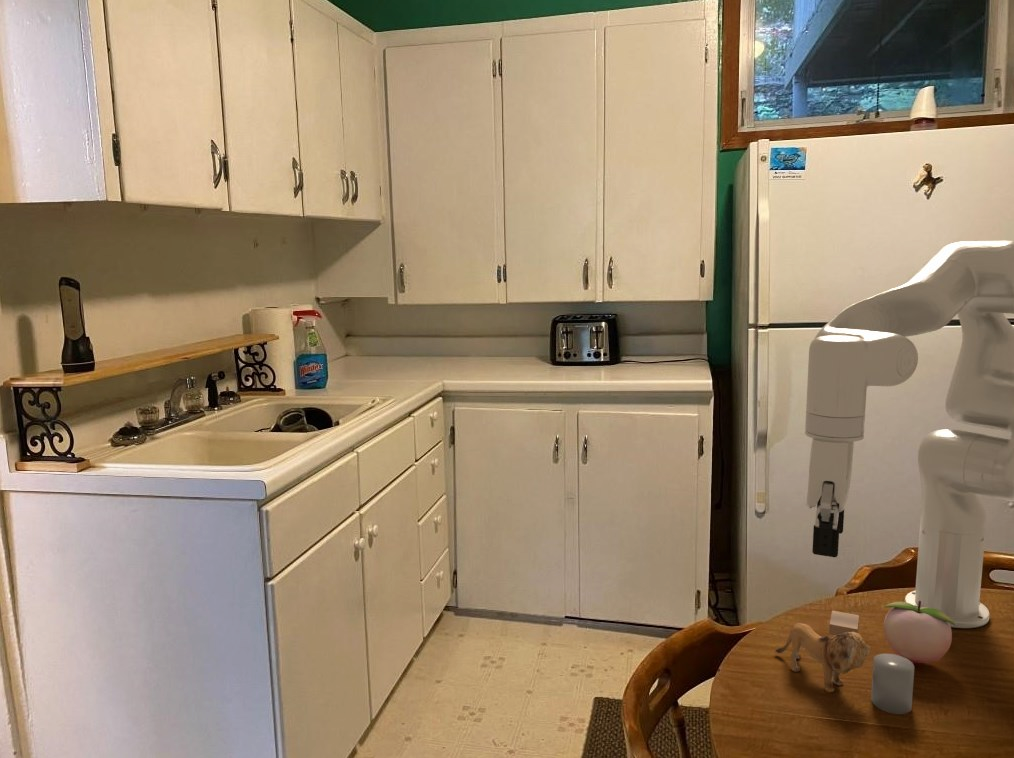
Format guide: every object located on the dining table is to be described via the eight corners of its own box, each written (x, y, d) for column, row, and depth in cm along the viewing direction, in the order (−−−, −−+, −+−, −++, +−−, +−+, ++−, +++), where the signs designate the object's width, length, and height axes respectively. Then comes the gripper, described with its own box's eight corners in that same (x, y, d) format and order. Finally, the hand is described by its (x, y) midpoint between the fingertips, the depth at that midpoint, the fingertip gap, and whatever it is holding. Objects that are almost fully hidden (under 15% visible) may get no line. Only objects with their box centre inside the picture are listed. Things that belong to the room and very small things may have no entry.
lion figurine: (874, 692, 109) (877, 633, 108) (851, 705, 106) (855, 645, 105) (785, 649, 121) (787, 595, 120) (763, 660, 118) (765, 605, 117)
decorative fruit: (881, 671, 114) (885, 608, 113) (880, 645, 122) (884, 585, 120) (954, 685, 110) (959, 619, 109) (949, 657, 118) (953, 595, 116)
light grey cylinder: (871, 689, 110) (874, 650, 109) (911, 698, 108) (914, 658, 107) (870, 708, 105) (872, 668, 104) (911, 717, 103) (914, 676, 102)
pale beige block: (830, 633, 126) (832, 610, 125) (857, 638, 124) (859, 615, 123) (828, 647, 122) (829, 624, 121) (856, 653, 120) (857, 629, 119)
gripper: (812, 411, 116) (806, 520, 119) (798, 436, 101) (792, 560, 104) (867, 415, 113) (860, 527, 116) (861, 442, 98) (853, 570, 100)
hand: (828, 542), depth 110 cm, fingers open, 9 cm apart
